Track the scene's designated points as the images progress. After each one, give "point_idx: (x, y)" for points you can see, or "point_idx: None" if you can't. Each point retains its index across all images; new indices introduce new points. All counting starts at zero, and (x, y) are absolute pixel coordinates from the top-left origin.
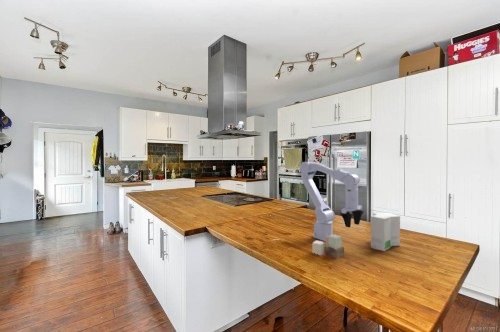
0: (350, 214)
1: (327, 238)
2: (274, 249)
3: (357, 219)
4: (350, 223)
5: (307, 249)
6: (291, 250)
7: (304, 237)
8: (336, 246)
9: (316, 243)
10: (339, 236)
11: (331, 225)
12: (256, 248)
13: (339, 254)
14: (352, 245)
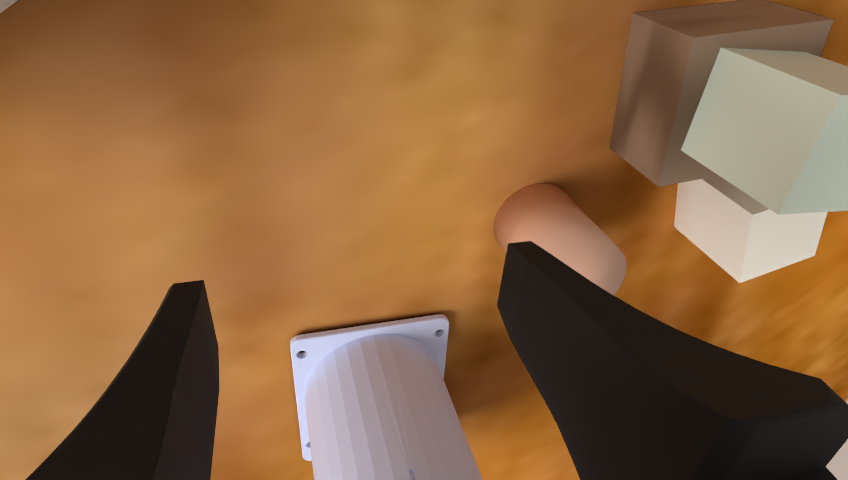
0: (831, 418)
1: (623, 275)
2: (804, 349)
3: (195, 388)
4: (559, 280)
5: (695, 268)
6: (770, 300)
7: (487, 441)
8: (821, 61)
9: (820, 225)
10: (845, 116)
11: (401, 469)
12: (835, 390)
13: (742, 11)
14: (289, 138)
